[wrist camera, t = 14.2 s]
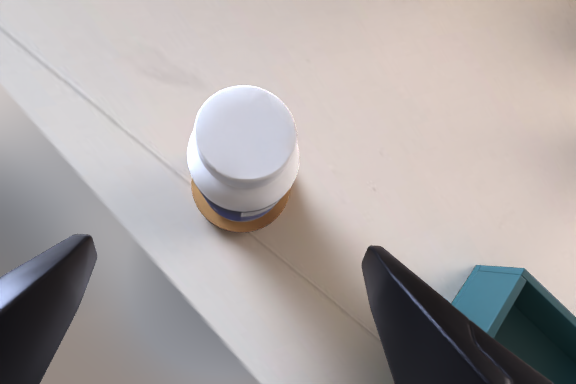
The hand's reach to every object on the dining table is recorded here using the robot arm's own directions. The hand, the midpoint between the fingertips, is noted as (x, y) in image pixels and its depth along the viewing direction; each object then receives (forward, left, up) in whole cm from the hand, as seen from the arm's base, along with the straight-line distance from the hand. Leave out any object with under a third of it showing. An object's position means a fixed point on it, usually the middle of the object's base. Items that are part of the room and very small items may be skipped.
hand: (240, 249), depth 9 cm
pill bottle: (+3, +3, -10) cm, 11 cm away
